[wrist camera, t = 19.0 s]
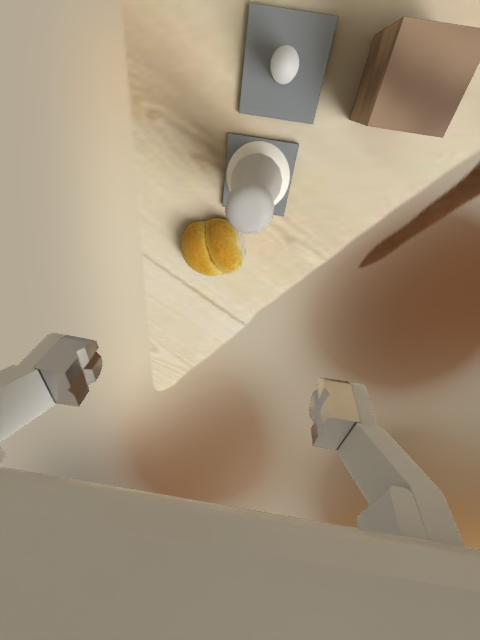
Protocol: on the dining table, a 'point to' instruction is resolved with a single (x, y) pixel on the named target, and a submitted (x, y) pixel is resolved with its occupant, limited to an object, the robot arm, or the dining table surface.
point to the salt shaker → (253, 193)
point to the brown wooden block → (416, 76)
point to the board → (309, 61)
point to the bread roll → (213, 247)
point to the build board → (274, 149)
